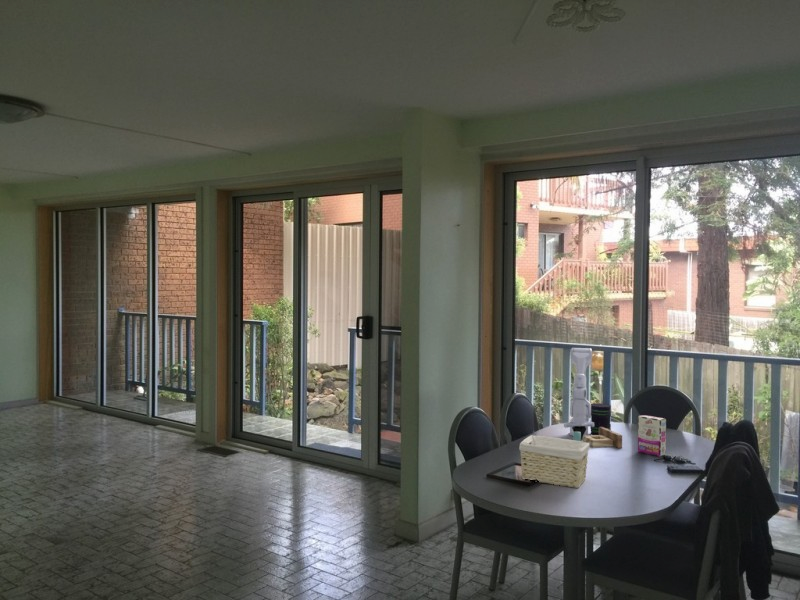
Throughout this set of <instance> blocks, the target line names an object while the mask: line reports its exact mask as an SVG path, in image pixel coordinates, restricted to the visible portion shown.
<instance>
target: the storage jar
mask: <svg viewBox="0 0 800 600" xmlns="http://www.w3.org/2000/svg"><path fill="white" fill-rule="evenodd" d="M611 415H612V405H611V404H607V403H599V402H598V403H597V402H596V403H595V402H594V403H591V417H590V418H591V420H590V422H594V427H592V426H589V427H590V428H589V429H590V435H591V434H592V435H599V427H604V428H606V429H609V430H611V431H612V426H611V417H612V416H611Z"/></svg>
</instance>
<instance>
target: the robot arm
mask: <svg viewBox="0 0 800 600" xmlns="http://www.w3.org/2000/svg"><path fill="white" fill-rule="evenodd" d="M592 353H593V350H592V348H590V347H589V348H588V347H585V348H584V347H583V348H582V347H571V349H570V359H571V363H572V365H574V366H575V367H576V374H575V375H574V377H573V388H572V392H571V399H572V400H571V402H570V407H569V408H570V412H569V413H570V418H571V419H570V421H568V422H564V423H563V427H564V428H565V429H566V428H567V429H568V428H569V432H568V433H567V434H568V435H570V436H572V437H573V434H574V432H575V431H577V432H581V441H582V442H583V436H589V435H590V434H589V427H590V426H592V427H594V422H591V421H589V419H590V418H591V404H592V403H591V402H590V401H589V400H588V397H587V396H588V394H587V393H588V391H587V368H588V367H589V366H590V365H592V360H593V359H592V357H593V355H592Z"/></svg>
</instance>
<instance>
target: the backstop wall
mask: <svg viewBox="0 0 800 600" xmlns="http://www.w3.org/2000/svg"><path fill="white" fill-rule="evenodd" d="M599 435H603V436H606V437H608V438H610V439H612V440H613V446H612V447H614V446H615V447H614V448H616V447H617V448H616V449H622V448H623V435H622V434H620V433H618V432H616V431H613V430H612V429H611V430H609V429H606V428H604V427H599Z"/></svg>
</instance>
